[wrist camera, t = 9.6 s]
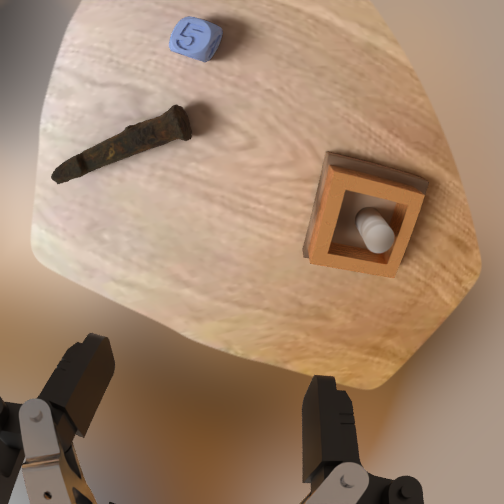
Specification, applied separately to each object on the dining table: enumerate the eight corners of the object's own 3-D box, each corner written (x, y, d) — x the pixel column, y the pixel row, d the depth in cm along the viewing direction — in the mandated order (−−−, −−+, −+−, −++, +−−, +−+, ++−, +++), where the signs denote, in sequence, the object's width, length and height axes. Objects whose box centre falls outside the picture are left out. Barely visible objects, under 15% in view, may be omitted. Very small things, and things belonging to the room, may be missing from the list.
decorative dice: (225, 32, 26) (218, 24, 23) (210, 64, 28) (201, 60, 25) (191, 21, 26) (181, 13, 22) (176, 53, 28) (164, 48, 24)
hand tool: (187, 102, 31) (173, 104, 26) (196, 136, 32) (184, 142, 28) (59, 153, 34) (38, 162, 30) (68, 180, 36) (48, 191, 32)
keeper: (325, 151, 32) (337, 165, 26) (421, 177, 32) (449, 196, 26) (302, 249, 37) (306, 281, 31) (391, 265, 37) (408, 297, 31)
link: (329, 164, 30) (334, 171, 28) (413, 186, 30) (424, 195, 28) (307, 250, 35) (310, 263, 33) (386, 264, 35) (394, 278, 33)
